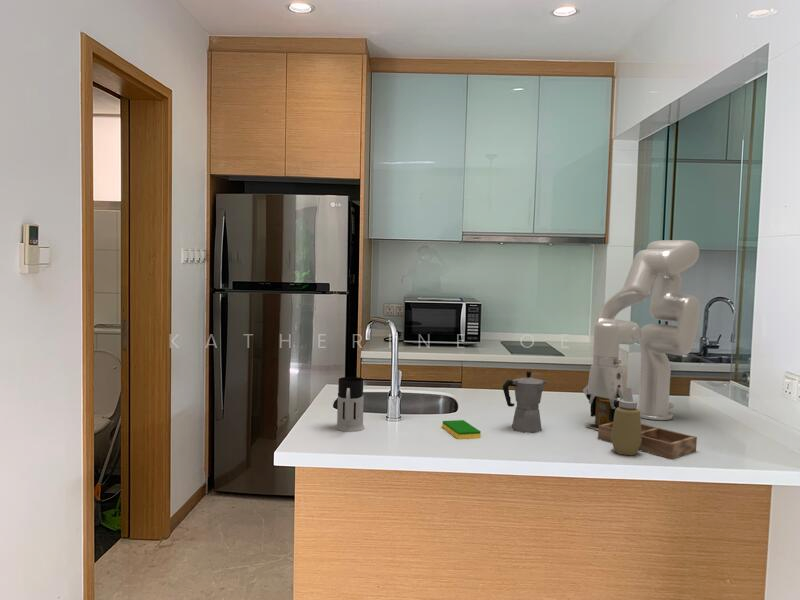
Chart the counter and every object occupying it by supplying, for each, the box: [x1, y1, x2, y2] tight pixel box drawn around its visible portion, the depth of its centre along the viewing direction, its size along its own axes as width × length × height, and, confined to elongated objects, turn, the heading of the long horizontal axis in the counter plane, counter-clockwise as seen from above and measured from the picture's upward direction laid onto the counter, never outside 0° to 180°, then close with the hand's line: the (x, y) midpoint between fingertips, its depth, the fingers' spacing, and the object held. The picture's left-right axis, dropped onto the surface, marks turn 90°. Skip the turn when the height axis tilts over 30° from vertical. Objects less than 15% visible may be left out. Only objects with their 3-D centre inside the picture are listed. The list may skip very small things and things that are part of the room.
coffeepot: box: [502, 371, 548, 434], centre depth 199 cm, size 15×9×18 cm, turn 110°
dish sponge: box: [441, 419, 482, 440], centre depth 195 cm, size 7×14×2 cm, turn 16°
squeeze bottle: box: [611, 387, 642, 456], centre depth 177 cm, size 8×8×18 cm
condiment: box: [584, 397, 613, 431], centre depth 203 cm, size 7×8×12 cm
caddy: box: [597, 422, 698, 460], centre depth 186 cm, size 13×23×4 cm, turn 38°
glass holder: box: [335, 376, 365, 433], centre depth 193 cm, size 9×14×15 cm, turn 179°
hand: (603, 417), depth 203 cm, fingers closed on condiment, 6 cm apart
